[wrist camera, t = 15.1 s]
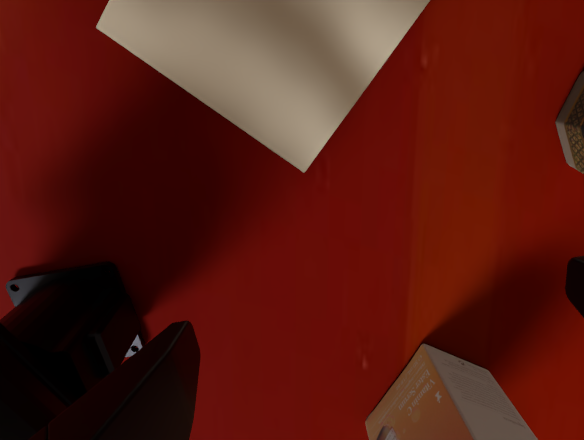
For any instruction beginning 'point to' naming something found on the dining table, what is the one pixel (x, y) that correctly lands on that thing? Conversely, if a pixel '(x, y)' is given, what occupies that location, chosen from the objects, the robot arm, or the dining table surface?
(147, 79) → the dining table surface
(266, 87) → the white lined paper sheet
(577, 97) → the ceramic cup
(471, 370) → the small box
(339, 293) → the dining table surface
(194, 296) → the dining table surface
